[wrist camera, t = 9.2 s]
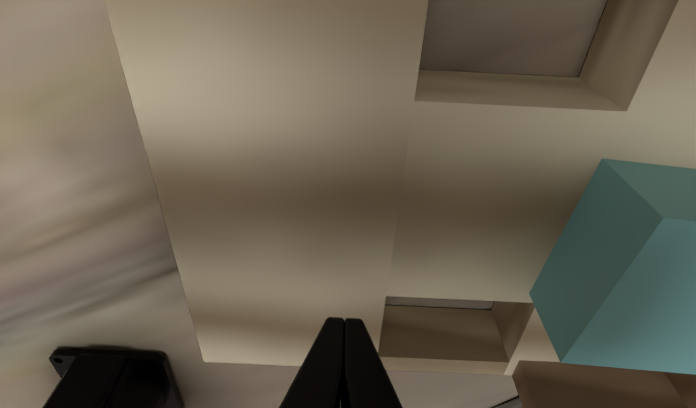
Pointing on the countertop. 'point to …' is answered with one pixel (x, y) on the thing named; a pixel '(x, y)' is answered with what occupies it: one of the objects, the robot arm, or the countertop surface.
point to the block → (625, 272)
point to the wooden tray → (392, 178)
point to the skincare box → (512, 404)
